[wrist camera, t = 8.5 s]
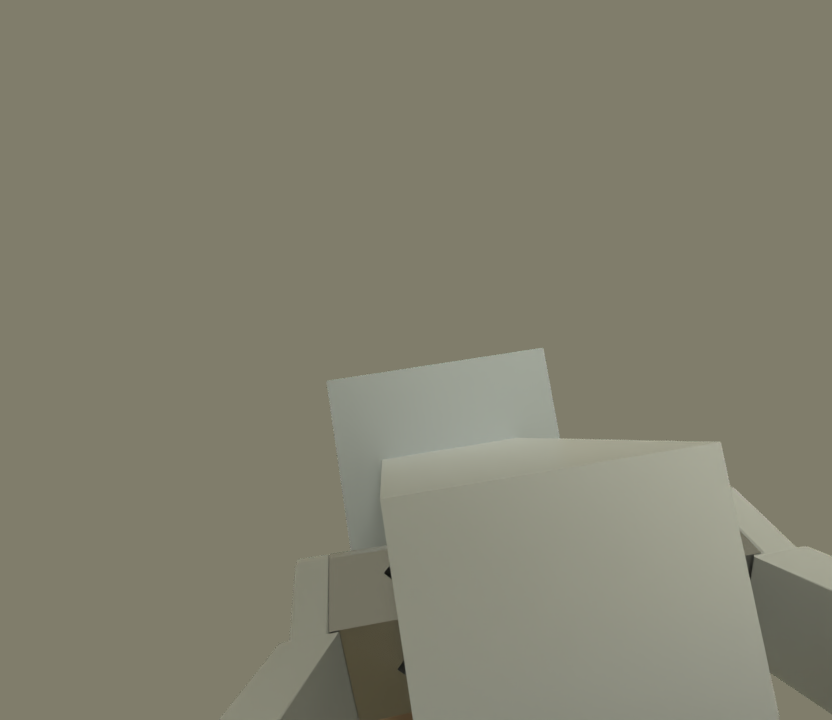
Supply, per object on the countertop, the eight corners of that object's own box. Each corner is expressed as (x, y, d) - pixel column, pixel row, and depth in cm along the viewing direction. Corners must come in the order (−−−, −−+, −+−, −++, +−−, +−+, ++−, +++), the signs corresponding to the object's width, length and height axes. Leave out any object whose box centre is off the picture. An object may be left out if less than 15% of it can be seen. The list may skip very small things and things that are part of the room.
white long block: (904, 784, 7) (774, 221, 8) (319, 908, 6) (238, 298, 7) (533, 535, 24) (504, 369, 24) (365, 564, 23) (340, 394, 24)
